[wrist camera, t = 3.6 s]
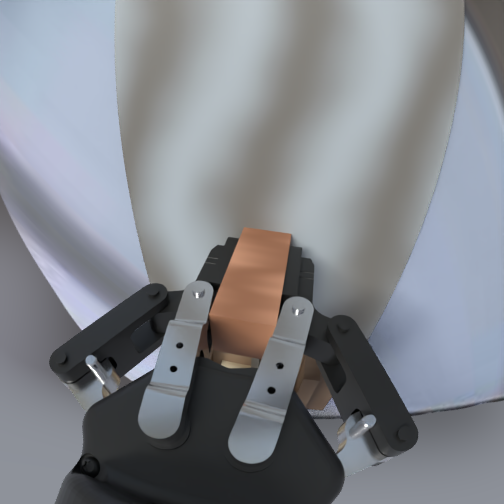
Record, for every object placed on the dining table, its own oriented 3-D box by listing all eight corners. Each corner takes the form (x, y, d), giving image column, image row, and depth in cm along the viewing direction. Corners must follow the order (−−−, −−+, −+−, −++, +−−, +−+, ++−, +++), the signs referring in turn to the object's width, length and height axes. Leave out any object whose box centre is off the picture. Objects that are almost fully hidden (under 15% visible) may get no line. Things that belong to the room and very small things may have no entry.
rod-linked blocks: (324, 238, 14) (323, 332, 10) (281, 397, 27) (272, 449, 22) (212, 222, 15) (166, 304, 11) (225, 387, 28) (210, 437, 23)
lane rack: (454, -40, 4) (484, -56, 2) (322, 404, 28) (320, 430, 26) (130, -56, 6) (92, -69, 4) (185, 379, 30) (176, 403, 28)
